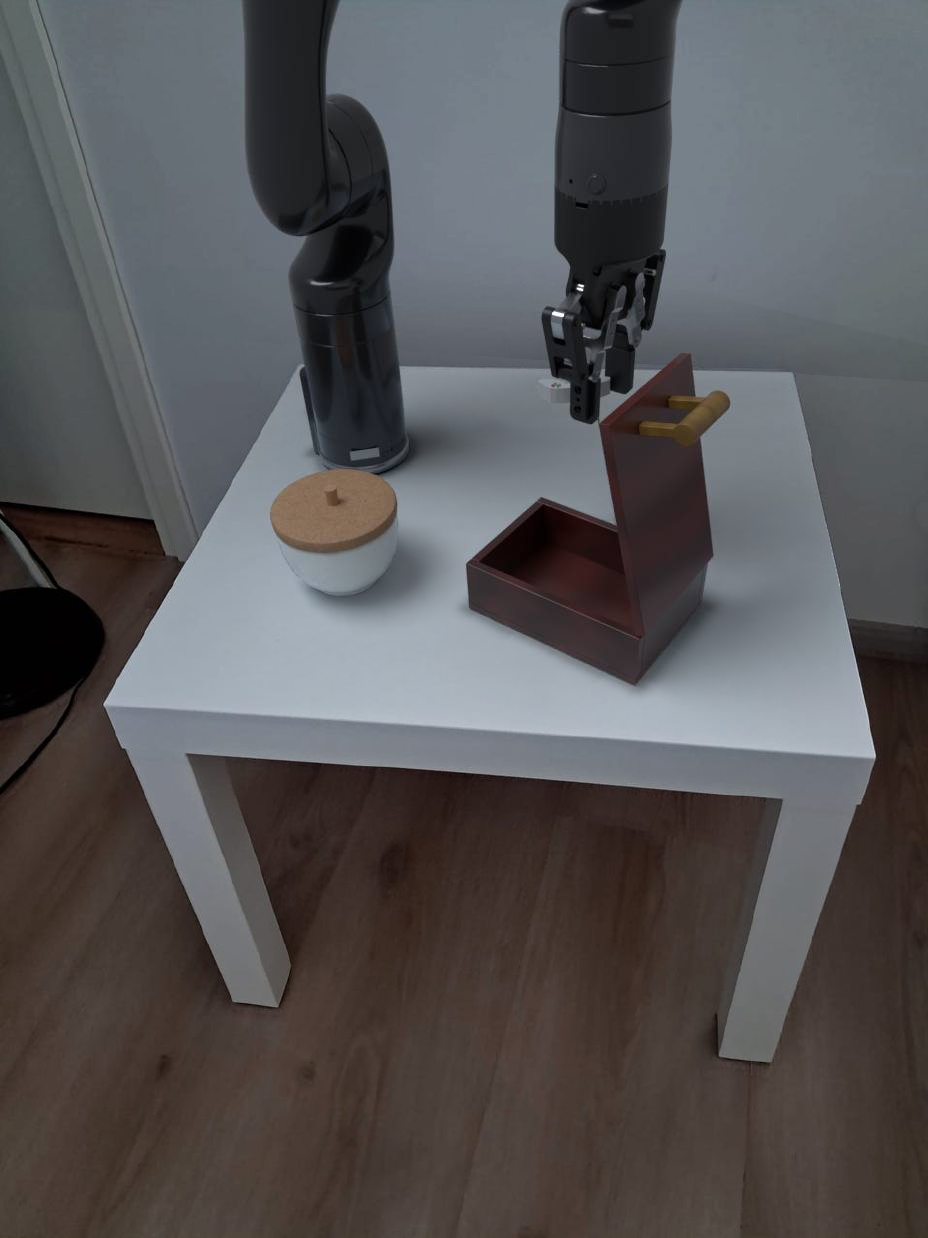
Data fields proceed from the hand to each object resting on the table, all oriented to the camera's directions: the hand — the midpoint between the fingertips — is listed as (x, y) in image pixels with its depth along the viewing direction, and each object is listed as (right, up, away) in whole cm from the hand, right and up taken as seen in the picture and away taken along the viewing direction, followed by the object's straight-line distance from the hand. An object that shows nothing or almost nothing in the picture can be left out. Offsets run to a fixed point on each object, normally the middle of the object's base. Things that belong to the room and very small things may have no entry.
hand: (601, 403), depth 73 cm
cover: (+3, -8, -6) cm, 11 cm away
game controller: (-1, -1, 0) cm, 2 cm away
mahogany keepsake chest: (-1, -16, +6) cm, 17 cm away
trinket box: (-21, -13, +11) cm, 27 cm away
